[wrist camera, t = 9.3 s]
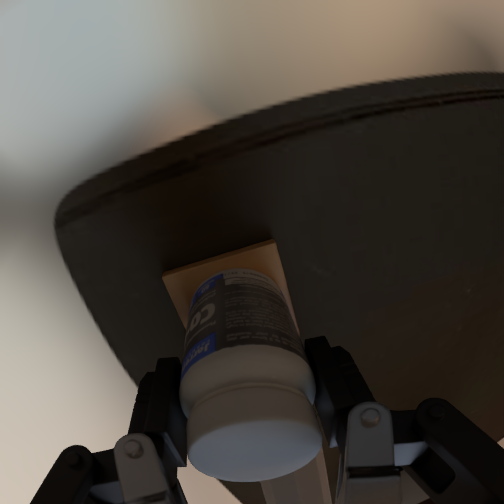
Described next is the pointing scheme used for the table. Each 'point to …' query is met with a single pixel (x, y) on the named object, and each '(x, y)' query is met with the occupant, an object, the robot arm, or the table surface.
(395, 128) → the table surface
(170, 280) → the coaster
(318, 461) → the pepper shaker
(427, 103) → the table surface
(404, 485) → the spread jar
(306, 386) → the pill bottle
